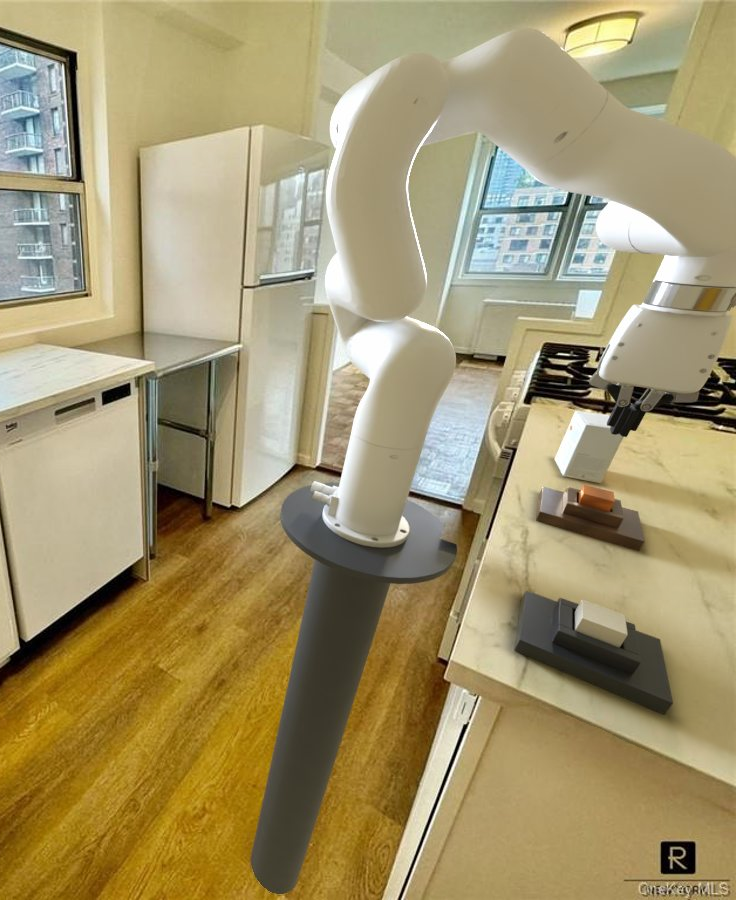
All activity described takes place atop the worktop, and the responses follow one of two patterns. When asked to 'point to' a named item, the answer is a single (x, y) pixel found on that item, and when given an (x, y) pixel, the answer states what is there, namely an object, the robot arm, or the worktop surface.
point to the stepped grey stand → (593, 652)
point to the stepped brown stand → (590, 518)
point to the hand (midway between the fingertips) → (618, 432)
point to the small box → (587, 447)
